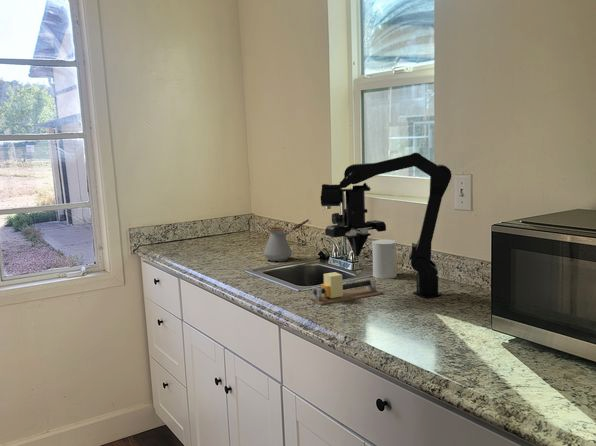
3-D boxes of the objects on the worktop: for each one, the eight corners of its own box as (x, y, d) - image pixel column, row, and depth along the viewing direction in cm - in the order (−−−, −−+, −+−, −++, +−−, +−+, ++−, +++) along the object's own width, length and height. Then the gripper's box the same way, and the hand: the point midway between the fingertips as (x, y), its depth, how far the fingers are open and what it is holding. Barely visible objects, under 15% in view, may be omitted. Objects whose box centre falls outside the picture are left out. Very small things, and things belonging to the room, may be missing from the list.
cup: (396, 278, 194) (395, 244, 192) (372, 278, 195) (371, 244, 194) (397, 273, 202) (396, 239, 200) (373, 272, 203) (373, 239, 202)
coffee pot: (271, 264, 224) (270, 226, 222) (259, 259, 234) (257, 223, 232) (318, 256, 234) (317, 220, 232) (304, 252, 244) (303, 217, 242)
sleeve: (342, 296, 172) (342, 274, 171) (331, 298, 170) (330, 276, 169) (335, 292, 176) (335, 272, 175) (324, 294, 174) (323, 273, 173)
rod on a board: (380, 294, 175) (380, 281, 175) (320, 305, 166) (320, 291, 166) (366, 288, 183) (366, 276, 182) (308, 298, 174) (307, 285, 173)
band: (330, 296, 170) (329, 285, 170) (326, 296, 170) (326, 286, 169) (325, 293, 173) (324, 283, 173) (321, 294, 173) (321, 284, 172)
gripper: (366, 201, 184) (367, 248, 187) (315, 206, 176) (317, 255, 179) (386, 204, 175) (387, 254, 177) (333, 209, 166) (335, 262, 169)
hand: (356, 256), depth 175 cm, fingers closed
